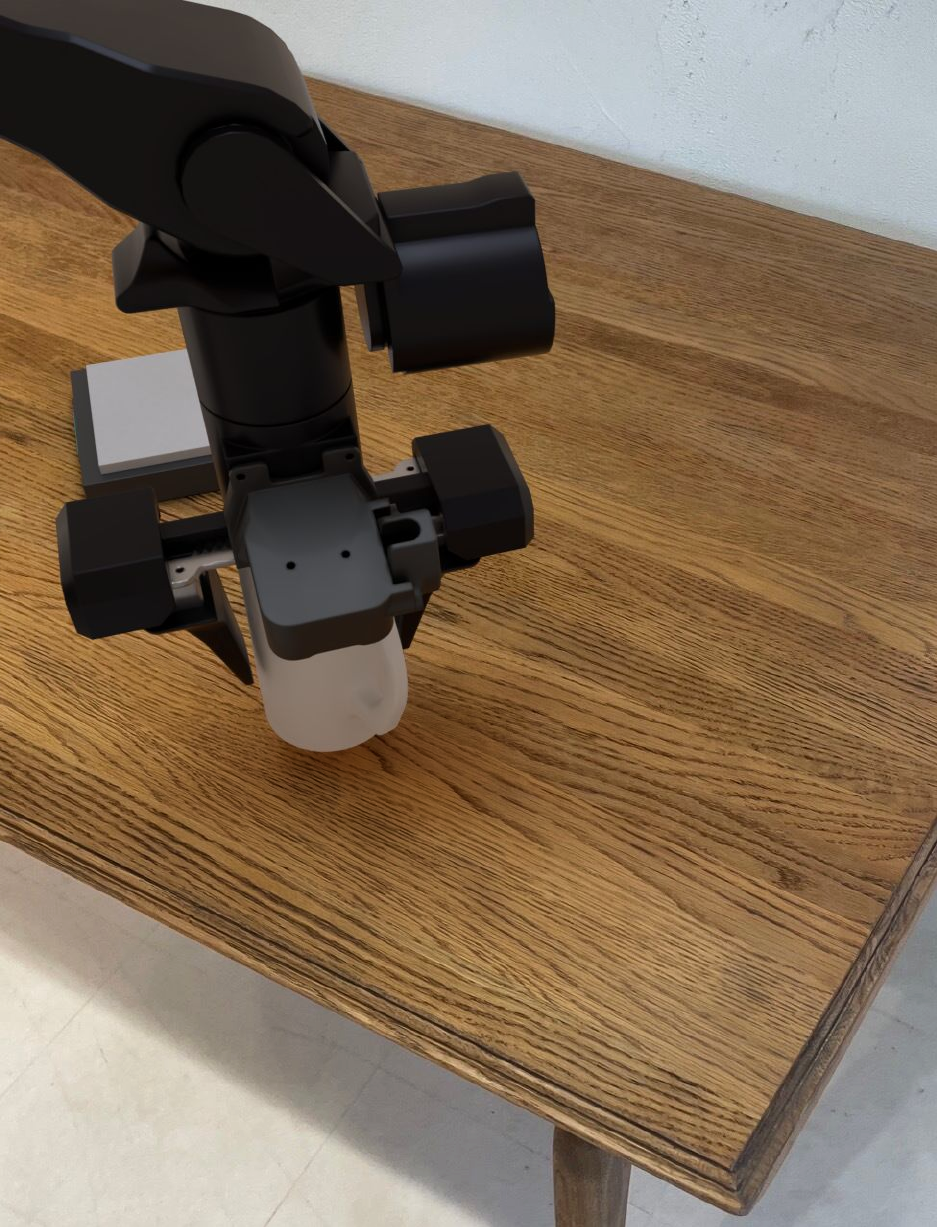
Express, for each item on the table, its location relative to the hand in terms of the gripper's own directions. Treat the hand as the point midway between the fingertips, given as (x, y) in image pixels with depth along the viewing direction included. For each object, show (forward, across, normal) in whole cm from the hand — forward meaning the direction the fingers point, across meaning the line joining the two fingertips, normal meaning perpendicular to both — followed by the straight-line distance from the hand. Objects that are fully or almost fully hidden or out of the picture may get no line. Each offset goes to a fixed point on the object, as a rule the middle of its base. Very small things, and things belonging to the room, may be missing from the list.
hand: (326, 660), depth 60 cm
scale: (+7, -4, +28) cm, 30 cm away
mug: (+5, 0, 0) cm, 5 cm away
